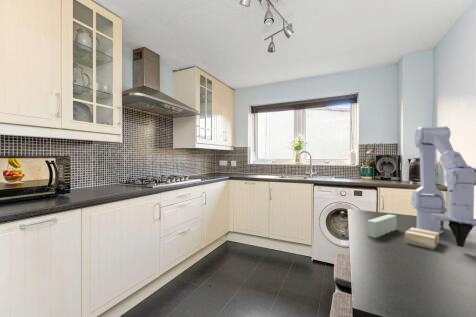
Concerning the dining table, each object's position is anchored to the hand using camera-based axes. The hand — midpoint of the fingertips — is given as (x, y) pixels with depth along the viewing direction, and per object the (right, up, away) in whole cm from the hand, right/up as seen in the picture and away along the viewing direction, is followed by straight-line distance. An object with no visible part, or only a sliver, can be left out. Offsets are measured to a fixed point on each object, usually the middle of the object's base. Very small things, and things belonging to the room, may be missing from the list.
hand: (460, 246), depth 72 cm
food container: (+17, -3, +28) cm, 33 cm away
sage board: (-13, -2, +19) cm, 23 cm away
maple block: (-6, -2, +8) cm, 10 cm away
